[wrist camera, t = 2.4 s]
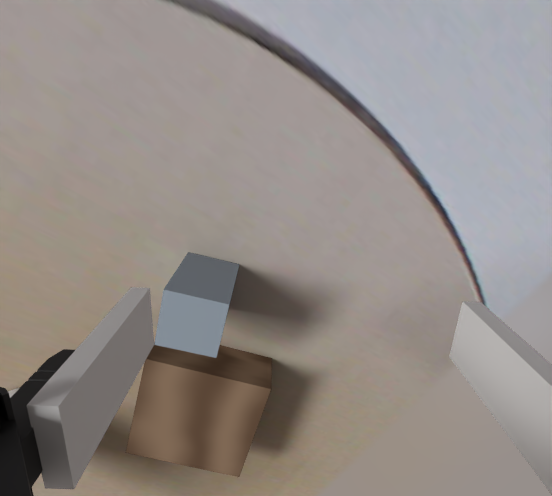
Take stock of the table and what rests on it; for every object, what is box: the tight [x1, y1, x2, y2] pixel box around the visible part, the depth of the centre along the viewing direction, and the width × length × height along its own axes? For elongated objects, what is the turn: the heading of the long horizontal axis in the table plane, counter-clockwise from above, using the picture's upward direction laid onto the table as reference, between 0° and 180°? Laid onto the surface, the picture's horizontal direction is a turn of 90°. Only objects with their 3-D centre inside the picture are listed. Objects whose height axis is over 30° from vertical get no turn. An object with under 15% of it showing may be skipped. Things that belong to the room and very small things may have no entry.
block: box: [154, 252, 239, 358], centre depth 32 cm, size 5×5×8 cm
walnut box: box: [126, 342, 272, 477], centre depth 38 cm, size 12×12×5 cm
